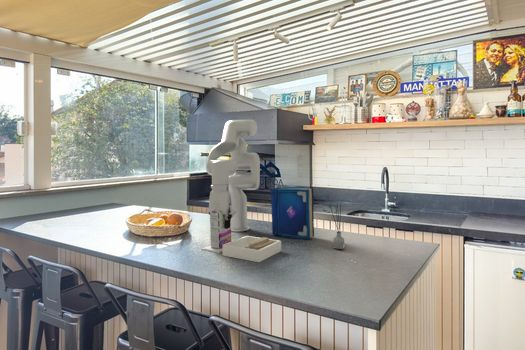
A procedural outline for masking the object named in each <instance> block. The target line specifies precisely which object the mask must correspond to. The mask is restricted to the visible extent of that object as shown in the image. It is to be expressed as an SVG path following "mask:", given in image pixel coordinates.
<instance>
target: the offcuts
mask: <svg viewBox="0 0 525 350" xmlns="http://www.w3.org/2000/svg"><path fill="white" fill-rule="evenodd" d="M260 238H261V239H258V240H256V241H253V242H251V243H248V248H249V249H255V250H259V249H261V248H264V247H266V246H268V245H270V244H272V243H274V241H270V240H269V239H270V238H269V237H265V236H264V237H260Z"/></svg>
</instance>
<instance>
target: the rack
mask: <svg viewBox="0 0 525 350" xmlns="http://www.w3.org/2000/svg"><path fill="white" fill-rule="evenodd" d="M261 238H262V237H257V236H251V235H250V236H249V235H245V236H243V237H239V238H237V239H233V240H231V242H229V243H226V244H223V252H222V256H223V257H230V258H235V259H240V260H245V261H251V262H256V263H260V262H262V261H265V260H267V259H268V258H270V257H272V256H274V255H276V254H278V253H280V252H282V240H279V239H272V238H269V240H270V241H274V243H272V244H270V245H268V246H266V247H264V248H261V249H259V250H255V249H249V248H248V243H251V242H253V241H256V240H258V239H261Z"/></svg>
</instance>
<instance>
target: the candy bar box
mask: <svg viewBox="0 0 525 350" xmlns="http://www.w3.org/2000/svg"><path fill="white" fill-rule="evenodd" d="M230 214H231V213H230ZM227 216H228V215H227ZM225 220H226V219H225V216H224V214H221V211H211V212H210V215H209V224H210V225H209V226H210V245H211V248H219V249H220V248H222V247H223V244H226V243H229V242H231V241H232V231H231V219H230V228H228V229H225Z"/></svg>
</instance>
